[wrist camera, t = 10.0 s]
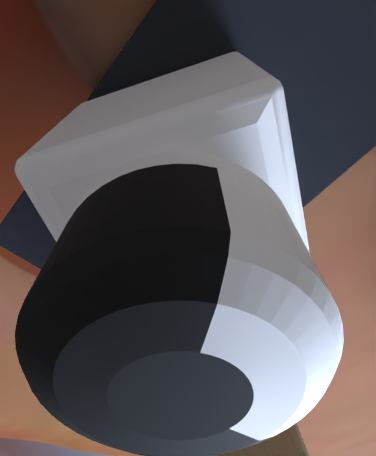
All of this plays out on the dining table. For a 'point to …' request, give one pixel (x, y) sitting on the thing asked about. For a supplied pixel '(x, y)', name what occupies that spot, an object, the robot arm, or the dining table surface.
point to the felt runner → (267, 60)
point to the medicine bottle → (176, 268)
